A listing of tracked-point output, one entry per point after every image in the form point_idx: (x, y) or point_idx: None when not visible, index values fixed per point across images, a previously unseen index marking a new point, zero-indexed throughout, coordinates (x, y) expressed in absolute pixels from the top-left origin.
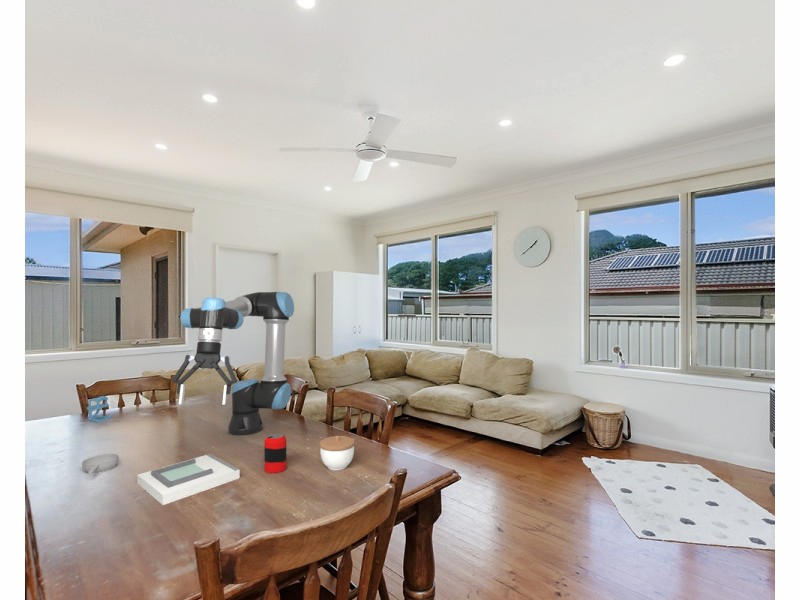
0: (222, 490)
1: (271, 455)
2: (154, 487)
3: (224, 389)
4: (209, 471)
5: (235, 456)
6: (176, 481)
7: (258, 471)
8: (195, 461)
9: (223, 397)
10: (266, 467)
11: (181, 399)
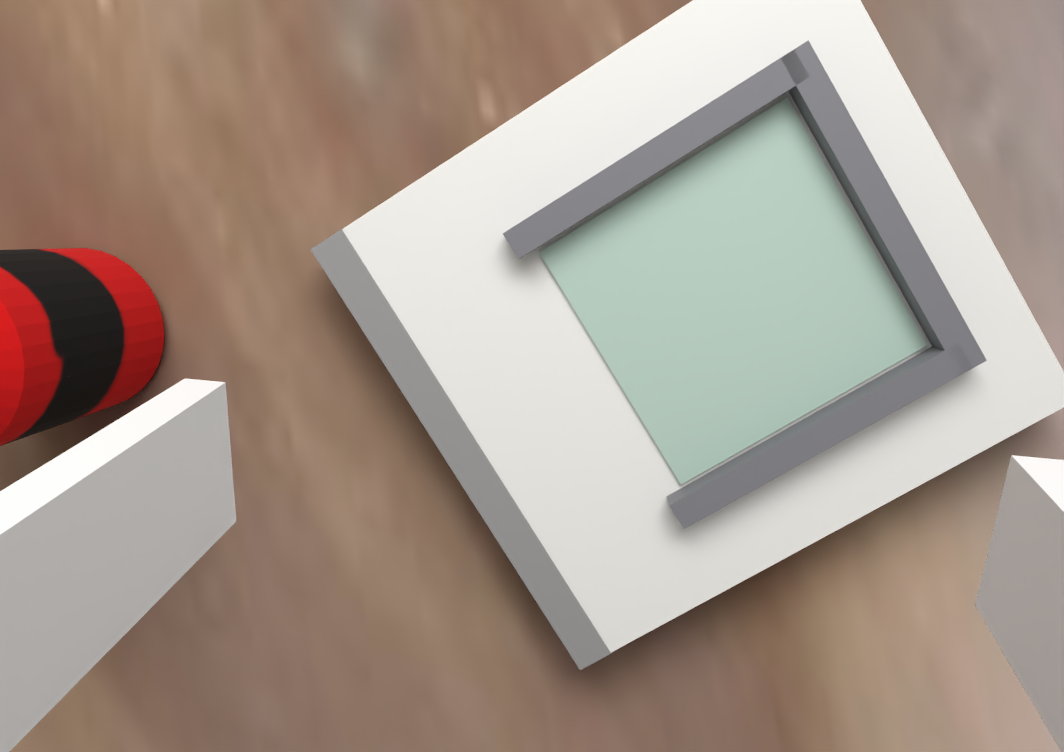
0: (427, 68)
1: (26, 258)
2: (902, 91)
3: (7, 520)
4: (526, 220)
5: (405, 683)
6: (750, 77)
7: (210, 330)
8: (668, 501)
9: (141, 434)
10: (129, 284)
11: (1057, 500)
